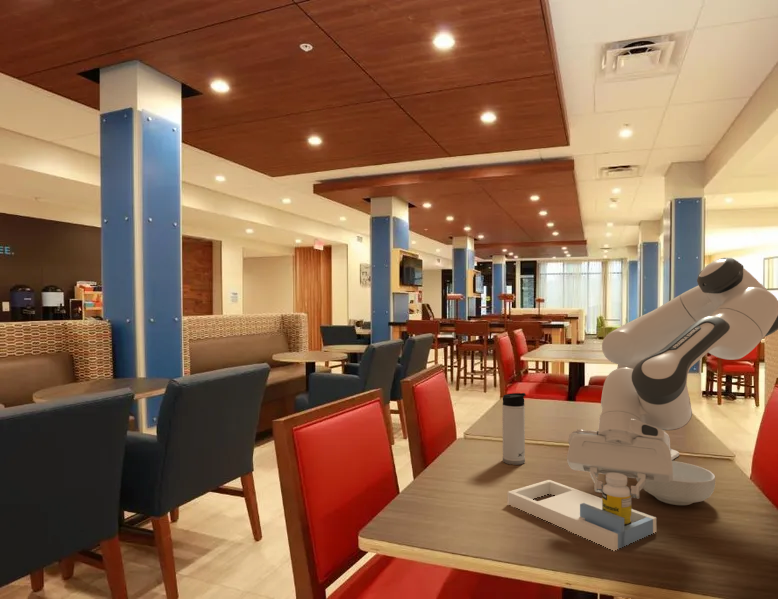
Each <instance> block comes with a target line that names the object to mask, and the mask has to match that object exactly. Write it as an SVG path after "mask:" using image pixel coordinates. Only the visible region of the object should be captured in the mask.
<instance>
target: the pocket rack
mask: <svg viewBox="0 0 778 599" xmlns="http://www.w3.org/2000/svg"><path fill="white" fill-rule="evenodd" d="M547 494H549V495H550V494H552V495H551V497H548V498H544V499H541V500H538V501H537V500H536V499H534V498H537V497H540V498H542V497H541V496H543V497H545V496H544V495H546V496H548V495H547ZM553 495H555V496H553ZM533 499H534V500H533ZM537 499H538V498H537ZM509 505H511V506H510V507H512V506H513V507H512V508H514V507H516V508H518V509H520V510H519V511H521V510H523V511H525V512H527V513H526V514H528V513H529V514H528V515H530V514H532V515H534V516H536V517H535V518H537V517H539V518H541V519H543V520H546V521H548V522H551V523H553V524H555V525H557V526H559V527H562V528H564V529H566V530H568V531H567V532H569V531H570V532H569V533H571V532H572V533H571V534H573V533H574V535H575V534H577V535H576V536H578V535H579V536H578V537H580V536H582V537H583V538H582V537H581V538H582V539H584V538H586V539H585V540H587V539H588V540H587V541H589V540H591V541H593V542H592V543H594V542H595V543H594V544H596V543H597V544H596V545H598V544H600V545H602V546H601V547H603V546H604V547H603V548H605V547H606V548H605V549H607V548H608V549H607V550H609V549H611V550H610V551H612V550H613V552H616V551H618V550H620V549H619V548H621V549H623V548H625V547H627V546H629V544H630V543H632V544H634V543H636V542H638V541H640V540H639V539H641V540H642V538H643V539H645V538H647V537H649V536H648V535H650V536H652V535H654V534H656V533H657V517H656V516H653V515H650V514H647V513H645V512H642V511H639V510H636V509H633V508H631V519H632V520H631V524H629V525H627V526H624V518H623V517H620V516H617V515H615V514H612V513H609V512H607V511H604V510H602V497H599V496H596V495H593V494H591V493H589V492H585V491H583V490H579V489H577V488H573V487H571V486H568V485H565V484H562V483H560V482H557V481H553V480H551V479H547V480H542V481H540V482H537V483H533V484H530V485H526V486H522V487H519V488H516V489H513V490H507V506H509ZM516 508H515V509H516ZM518 509H517V510H518ZM523 511H522V512H523ZM525 512H524V513H525ZM532 515H531V516H532ZM534 516H533V517H534ZM539 518H538V519H539ZM541 519H540V520H541ZM543 520H542V521H543ZM546 521H545V522H546ZM548 522H547V523H548ZM553 524H552V525H553ZM555 525H554V526H555ZM557 526H556V527H557ZM559 527H558V528H559ZM562 528H561V529H562ZM564 529H563V530H564ZM566 530H565V531H566ZM655 532H656V533H655ZM653 533H654V534H653ZM651 534H652V535H651ZM646 536H647V537H646ZM644 537H645V538H644ZM637 540H638V541H637ZM591 541H590V542H591ZM635 541H636V542H635ZM633 542H634V543H633ZM600 545H599V546H600ZM626 545H627V546H626ZM630 545H631V544H630ZM624 546H625V547H624ZM622 547H623V548H622ZM617 549H618V550H617ZM615 550H616V551H615Z"/></svg>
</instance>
